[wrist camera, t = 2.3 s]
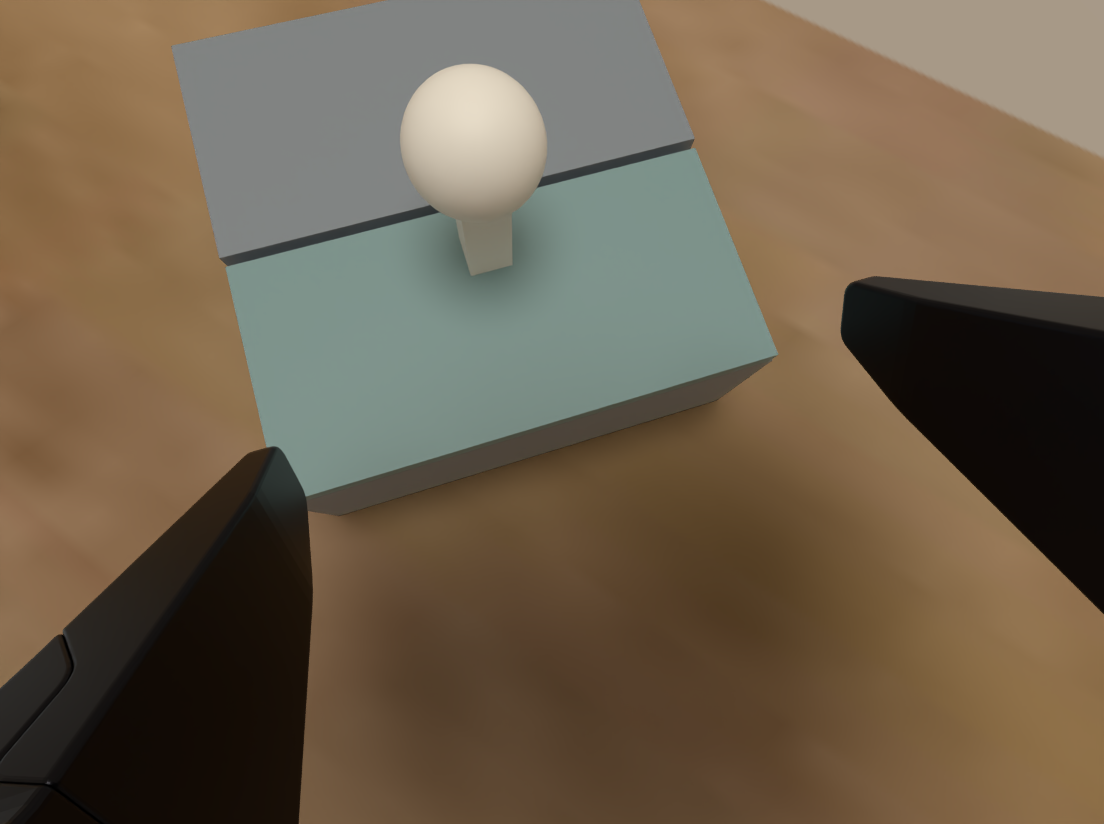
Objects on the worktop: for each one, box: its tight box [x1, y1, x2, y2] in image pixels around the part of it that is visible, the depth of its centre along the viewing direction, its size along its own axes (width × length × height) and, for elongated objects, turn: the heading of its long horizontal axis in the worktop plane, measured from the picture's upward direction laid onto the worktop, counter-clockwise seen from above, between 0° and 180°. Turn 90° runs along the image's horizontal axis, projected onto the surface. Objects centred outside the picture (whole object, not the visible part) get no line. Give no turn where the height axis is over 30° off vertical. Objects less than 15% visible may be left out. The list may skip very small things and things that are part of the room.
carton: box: [171, 0, 772, 516], centre depth 20 cm, size 14×14×6 cm
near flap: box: [226, 64, 778, 500], centre depth 14 cm, size 7×14×7 cm, turn 107°
